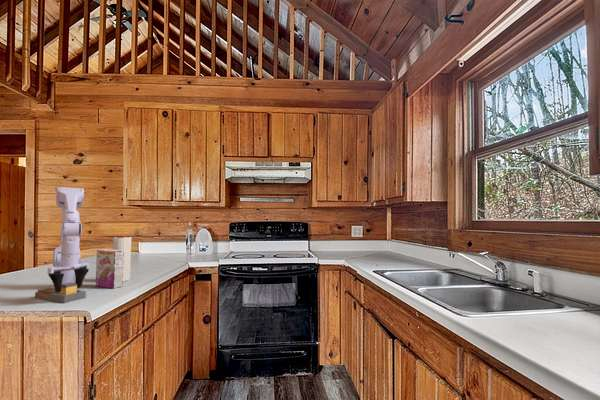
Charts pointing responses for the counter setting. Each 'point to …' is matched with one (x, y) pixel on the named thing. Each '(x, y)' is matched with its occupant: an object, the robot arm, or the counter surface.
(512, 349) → the counter surface
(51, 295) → the lower socket
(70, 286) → the plug
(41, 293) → the upper socket
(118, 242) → the paper towel roll
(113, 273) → the candy bar box
